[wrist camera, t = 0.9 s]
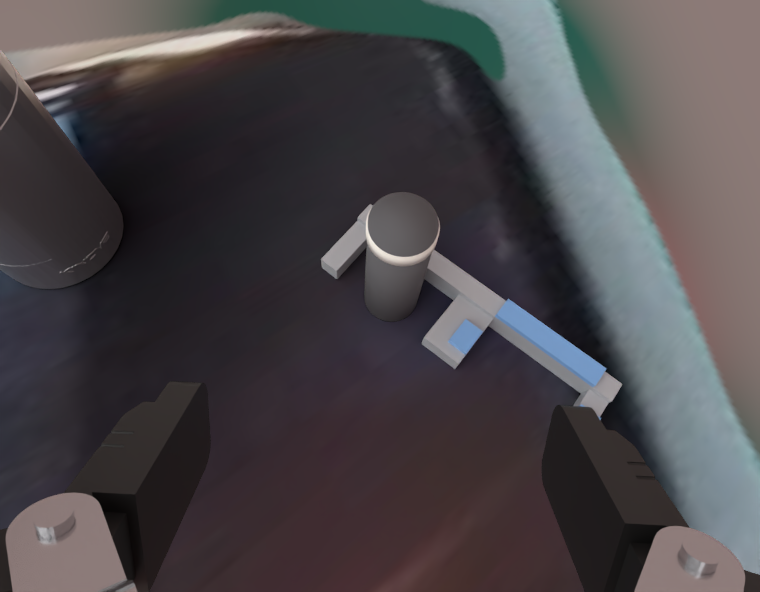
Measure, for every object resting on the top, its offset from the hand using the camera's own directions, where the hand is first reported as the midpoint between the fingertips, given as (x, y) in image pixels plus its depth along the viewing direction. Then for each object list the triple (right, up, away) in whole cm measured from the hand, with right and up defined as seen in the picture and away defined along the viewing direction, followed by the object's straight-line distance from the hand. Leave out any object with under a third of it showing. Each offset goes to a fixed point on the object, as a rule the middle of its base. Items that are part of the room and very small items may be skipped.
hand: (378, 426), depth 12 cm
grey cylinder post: (+1, +3, +28) cm, 28 cm away
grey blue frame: (+6, +1, +27) cm, 28 cm away
